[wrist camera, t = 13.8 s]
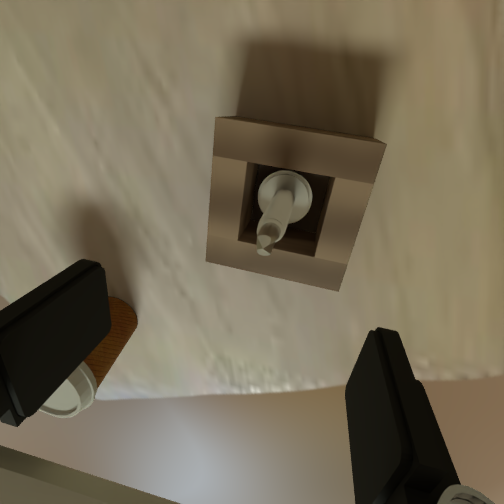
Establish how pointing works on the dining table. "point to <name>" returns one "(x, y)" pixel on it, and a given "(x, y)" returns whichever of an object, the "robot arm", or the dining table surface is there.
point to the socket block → (295, 158)
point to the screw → (280, 206)
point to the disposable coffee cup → (93, 365)
